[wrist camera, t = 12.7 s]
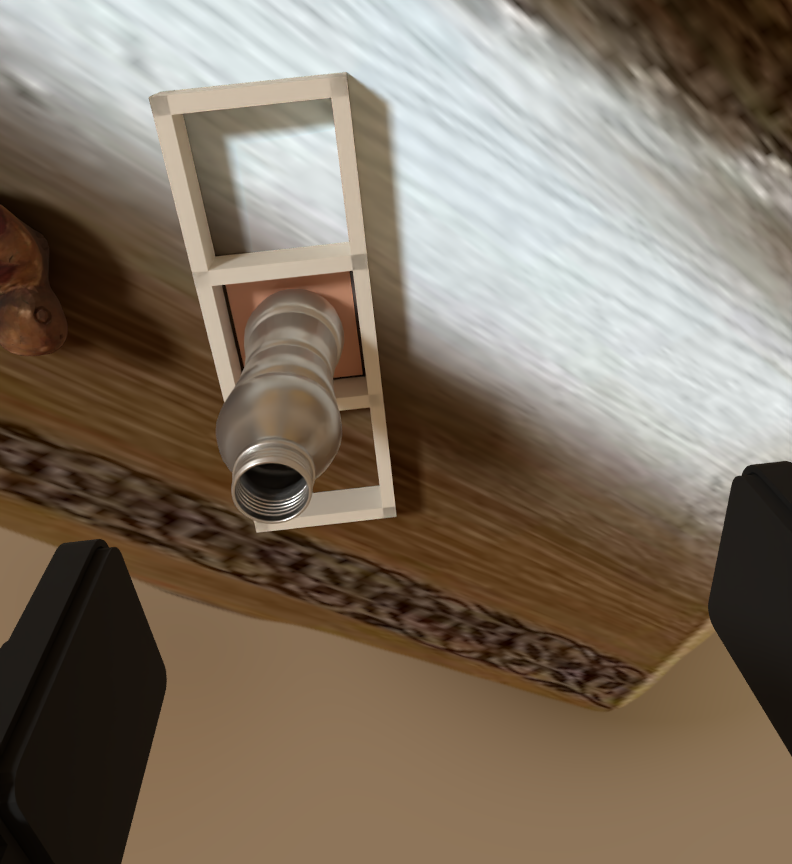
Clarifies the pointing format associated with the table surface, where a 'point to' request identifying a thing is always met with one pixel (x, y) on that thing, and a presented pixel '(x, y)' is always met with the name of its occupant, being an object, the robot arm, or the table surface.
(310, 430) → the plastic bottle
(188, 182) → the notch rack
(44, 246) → the decorative turtle
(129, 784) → the robot arm
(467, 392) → the table surface
